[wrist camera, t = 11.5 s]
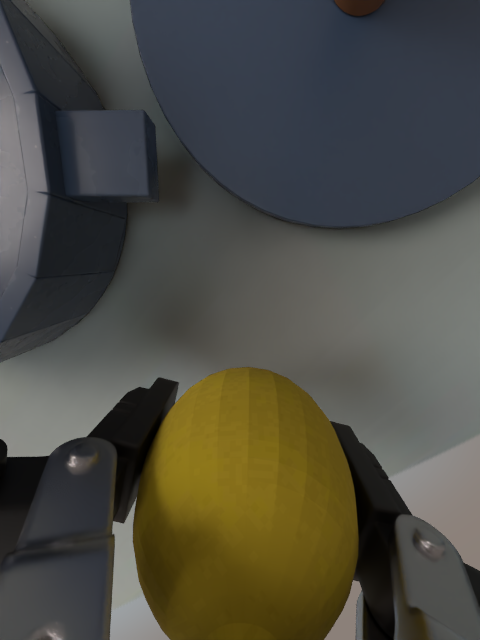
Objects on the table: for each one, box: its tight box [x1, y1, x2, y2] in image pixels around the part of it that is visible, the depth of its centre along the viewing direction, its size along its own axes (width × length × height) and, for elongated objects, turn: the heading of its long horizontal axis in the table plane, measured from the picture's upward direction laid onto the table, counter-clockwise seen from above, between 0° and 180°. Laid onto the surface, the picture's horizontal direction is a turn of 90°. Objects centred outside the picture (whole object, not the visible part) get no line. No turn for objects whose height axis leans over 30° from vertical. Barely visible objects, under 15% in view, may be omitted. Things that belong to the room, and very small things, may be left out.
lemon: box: [133, 367, 359, 640], centre depth 8 cm, size 6×6×8 cm
